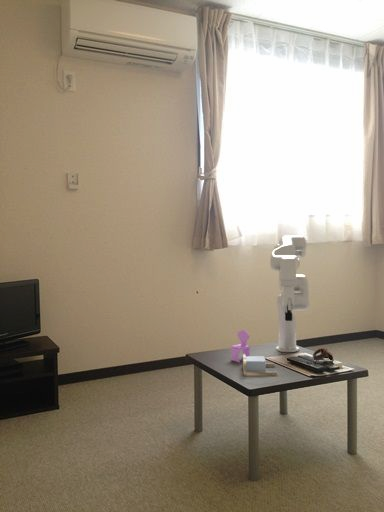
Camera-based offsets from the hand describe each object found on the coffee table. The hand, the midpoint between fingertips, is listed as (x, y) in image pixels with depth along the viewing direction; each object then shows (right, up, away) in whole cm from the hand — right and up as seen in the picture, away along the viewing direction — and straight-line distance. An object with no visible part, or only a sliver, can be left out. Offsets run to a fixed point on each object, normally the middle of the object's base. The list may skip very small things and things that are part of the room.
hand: (288, 320), depth 229 cm
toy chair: (-21, -23, +16) cm, 35 cm away
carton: (-16, -24, -4) cm, 29 cm away
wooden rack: (-14, -23, -4) cm, 28 cm away
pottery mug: (+20, -22, +8) cm, 31 cm away
